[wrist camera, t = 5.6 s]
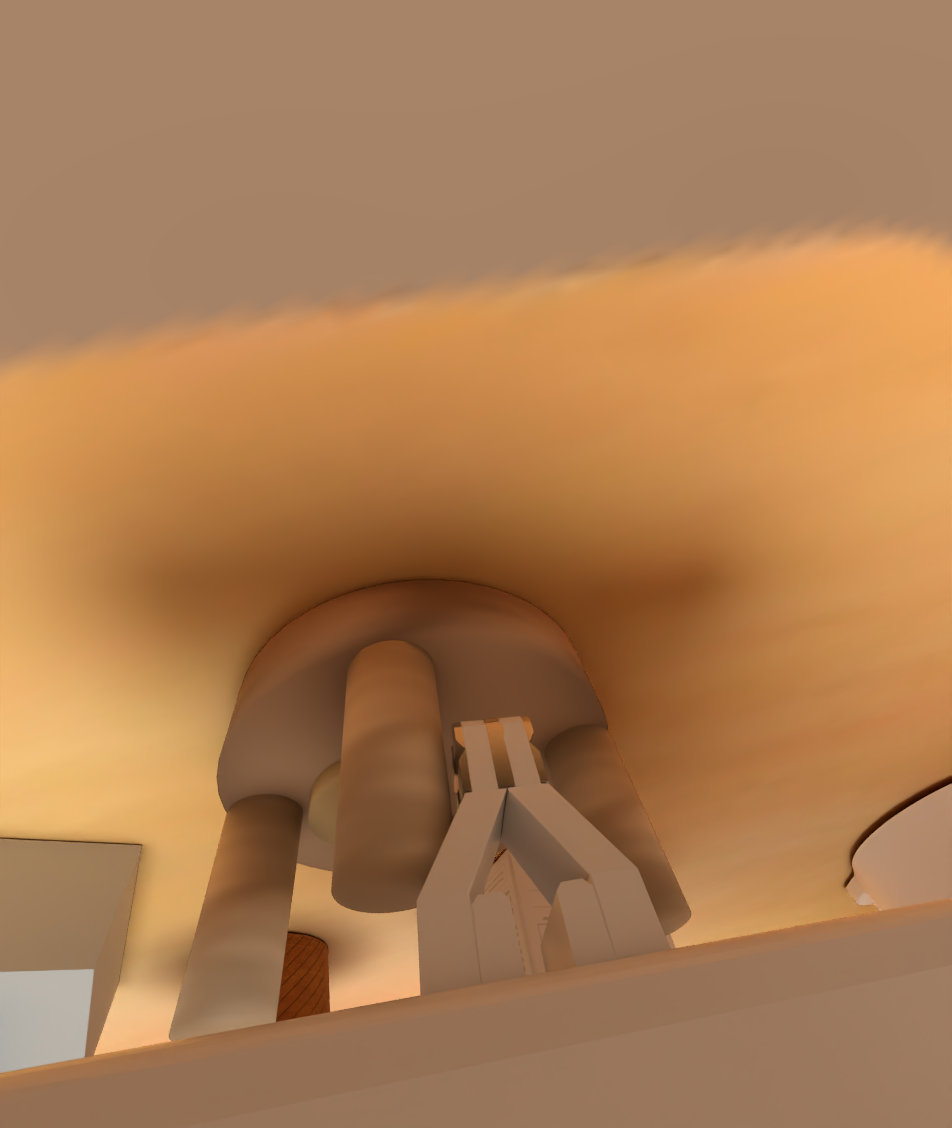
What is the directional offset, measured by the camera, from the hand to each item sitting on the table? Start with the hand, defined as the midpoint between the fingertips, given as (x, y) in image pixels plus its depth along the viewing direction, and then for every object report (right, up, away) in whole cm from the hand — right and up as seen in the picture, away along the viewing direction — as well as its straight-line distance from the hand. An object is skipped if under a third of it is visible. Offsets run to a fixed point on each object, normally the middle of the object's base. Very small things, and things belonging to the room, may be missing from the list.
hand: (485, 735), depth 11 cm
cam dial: (-2, -1, +7) cm, 7 cm away
